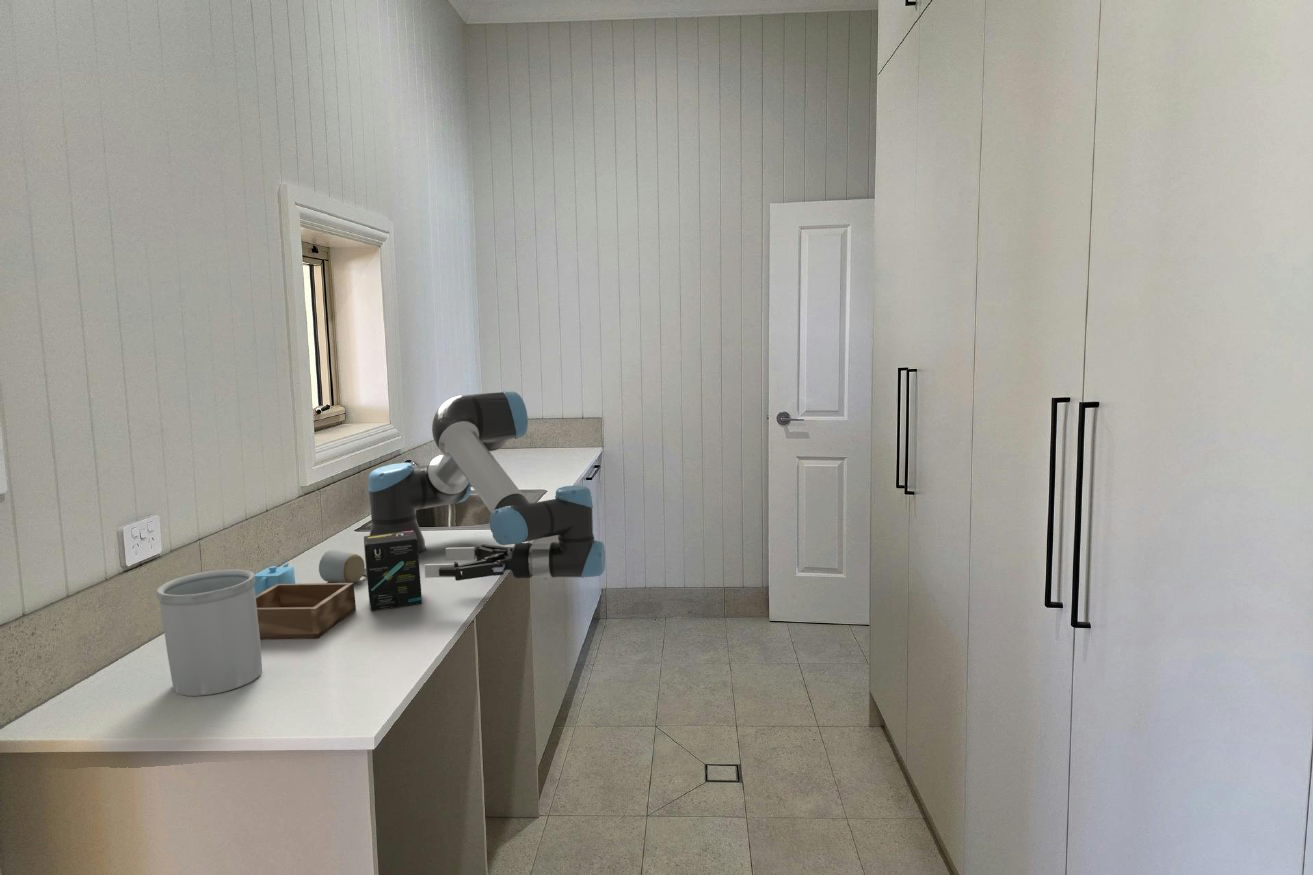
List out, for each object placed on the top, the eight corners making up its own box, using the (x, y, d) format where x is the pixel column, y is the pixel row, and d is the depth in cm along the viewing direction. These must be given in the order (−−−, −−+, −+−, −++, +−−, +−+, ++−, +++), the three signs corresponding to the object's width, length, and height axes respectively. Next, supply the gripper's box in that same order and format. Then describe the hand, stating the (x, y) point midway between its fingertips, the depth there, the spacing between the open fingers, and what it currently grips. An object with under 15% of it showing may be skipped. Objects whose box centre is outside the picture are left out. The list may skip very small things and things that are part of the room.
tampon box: (419, 592, 193) (414, 529, 191) (423, 604, 184) (418, 537, 182) (368, 599, 189) (363, 534, 187) (369, 611, 180) (364, 544, 178)
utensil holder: (162, 705, 137) (150, 599, 134) (173, 673, 150) (162, 576, 148) (263, 687, 142) (253, 585, 140) (265, 657, 156) (256, 564, 154)
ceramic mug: (346, 587, 198) (344, 555, 198) (319, 585, 202) (316, 553, 201) (377, 576, 208) (375, 545, 207) (350, 573, 211) (348, 543, 211)
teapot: (278, 590, 199) (275, 558, 198) (303, 589, 199) (300, 558, 198) (250, 606, 187) (247, 573, 186) (277, 606, 187) (274, 572, 186)
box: (279, 610, 183) (276, 583, 182) (356, 610, 182) (353, 582, 181) (234, 639, 166) (231, 609, 165) (318, 638, 165) (315, 608, 164)
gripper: (519, 594, 171) (416, 596, 173) (545, 561, 196) (455, 563, 197) (517, 558, 170) (414, 560, 172) (543, 529, 195) (453, 531, 196)
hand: (436, 562), depth 185 cm, fingers open, 13 cm apart
